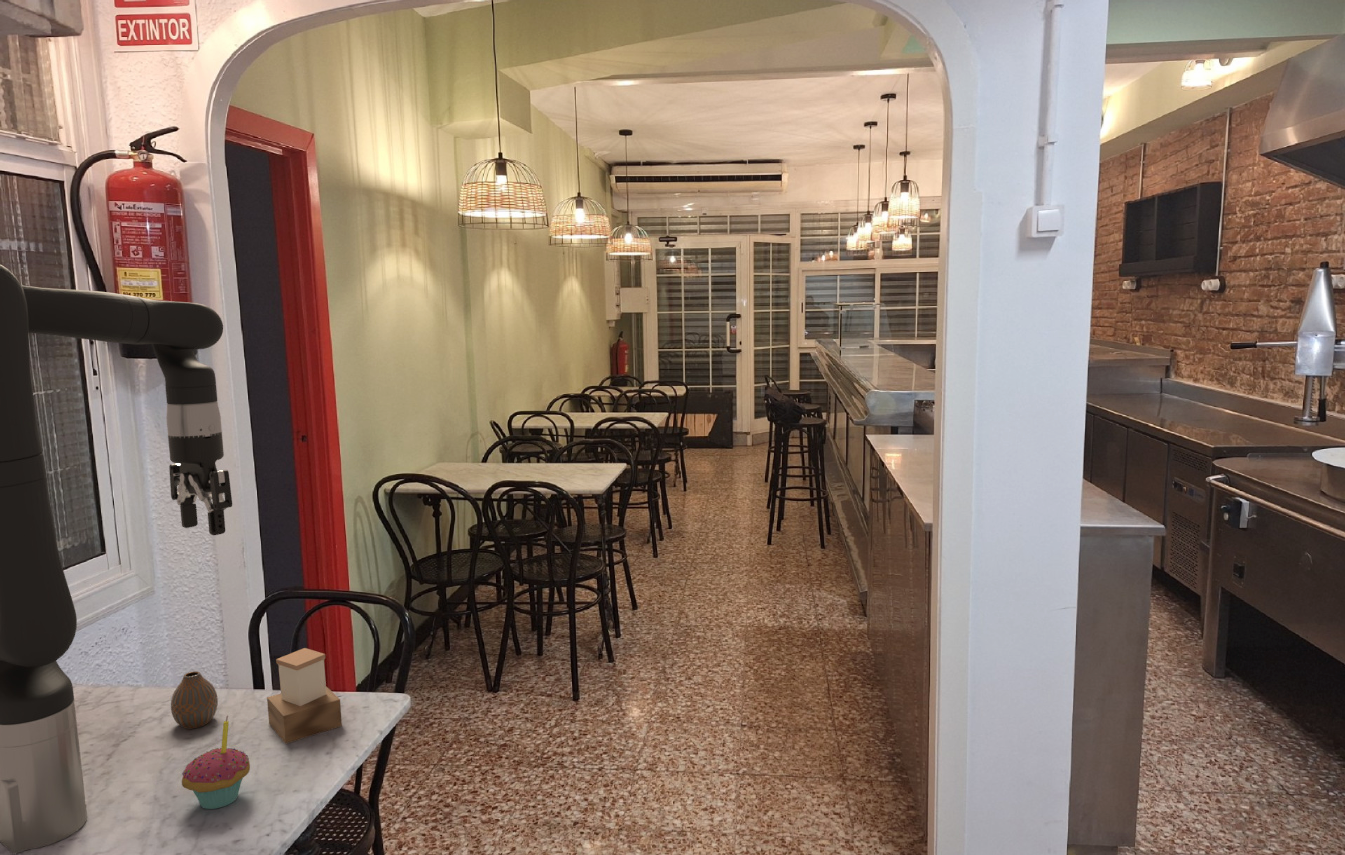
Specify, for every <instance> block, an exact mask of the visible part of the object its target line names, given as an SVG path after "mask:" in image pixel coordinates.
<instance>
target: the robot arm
mask: <svg viewBox="0 0 1345 855" xmlns="http://www.w3.org/2000/svg"><path fill="white" fill-rule="evenodd" d="M223 323H224V322H223V321H222V318H221V316H220V315H219V314H218V313H217V312H216V311H215V310H214V309H213V308H211V307H210V306H208V305H206V304H202V303H197V302H187V301H171V300H170V301H169V300H155V299H151V298H150V299H149V298H144V297H141V296H134V295H129V294H122V293H116V292H115V293H114V292H108V291H106V292H105V291H96V290H85V289H66V288H65V289H63V288H48V287H37V286H29V285H23V284H21V282H20V281H19V279H18V278H17V276H16V275H15V274H14V273H13V272H12V271H10V269H9V268H7V267H5V266H4V265H2V264H0V843H1V844H2V845H3V846H4V847H5V848H6V849H7V850H8V851H10V852H11V853H12V854H14V855H16V854H19V853H20V852H23V851H26V850H32V849H39V848H41V847H45V846H49V845H52V844H54V843H57V842H60V841H62V840H64V839H65V838H67V837H69V836H71V835H73V834H75V832H77V831H79V830H80V829H81V828H82V827H83V826H84V825H85V823H86V822H87V820H88V811H87V800H86V795H85V794H86V792H85V786H84V785H85V784H84V776H83V765H82V759H81V748H80V739H79V731H78V721H77V714H76V713H77V710H76V704H75V703H76V702H75V695H74V687H73V682H72V681H71V680H72V679H70V678H69V676H68V675H67V674H66V673H65V672H64V671H63V669H62V668H61V667H60V666H59V663H58V661H57V660H60V658H61V657H63V656H64V655H65V654H66V653H67V651H68V650H69V649H70V647H71V645H72V644H73V641H74V639H75V636H76V632H77V628H78V626H77V624H78V619H77V613H76V609H75V604H74V601H73V598H72V594H71V592H70V589H69V585H68V582H67V578H66V575H65V571H64V568H63V565H62V562H61V557H60V553H59V549H58V542H57V536H56V535H57V534H56V528H55V522H54V516H53V512H52V505H51V500H50V499H51V498H50V492H49V483H48V475H47V469H46V464H45V463H46V461H45V458H44V452H43V445H42V441H41V436H40V431H39V426H38V425H39V424H38V417H37V410H36V404H35V397H34V390H33V384H32V375H31V365H30V364H31V362H30V338H29V337H30V334H37V335H38V334H39V335H47V336H48V335H49V336H50V335H51V336H58V337H65V338H66V337H67V338H73V339H82V340H91V341H97V342H106V343H115V344H126V345H127V344H128V345H151V346H152V349H153V351H154V355H155V357H156V359H157V362H158V365H159V368H160V370H161V372H162V374H163V377H164V384H165V385H164V386H165V399H166V428H167V429H166V430H167V438H168V450H169V460H170V462H172V464H171V463H170V464H169V468H168V469H169V470H168V471H169V483H170V485H169V486H170V498H171V500H172V501H176V503H177V505H178V506H179V507H180V520H181V526H182V527H183V528H184V529H189V528H194V527H197V526H198V524H199V523H198V521H199V520H198V513H197V503H196V501H197V499H199V501H200V502H203V503H204V505H205V507H206V510H207V511H208V512H207V518H208V519H207V521H208V522H207V523H208V532H209V535H211V536H219V535H222V534H224V533H226V523H225V522H226V521H225V510H226V509H227V508H232V507H233V498H232V490H231V482H230V481H231V480H230V473H229V471H228V469H223V470H221V469H220V470H218V469H217V465H216V462H217V461H219V460H221V459H223V458H224V455H225V454H224V452H225V451H224V441H223V429H222V420H221V419H222V416H221V412H220V411H221V410H220V407H219V402H218V393H217V392H218V390H217V379H216V373H215V371H214V369H213V368H212V367H210V366H208V365H206V364H204V363H201V362H200V361H198V358H197V357H196V354H195V351H194V350H204V349H209V348H210V347H213V346H214V345H217V343H219V340H220V339H221V337H222V336H223V333H224V325H223ZM223 495H224V496H223Z"/></svg>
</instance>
